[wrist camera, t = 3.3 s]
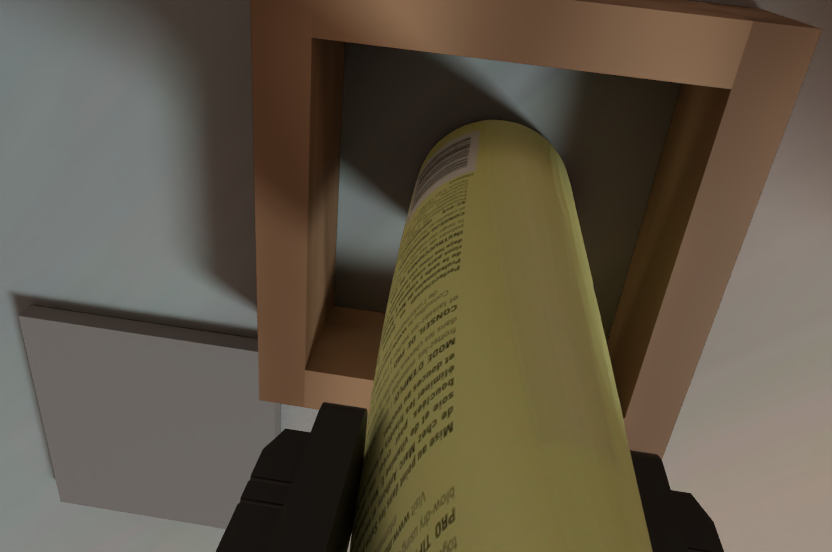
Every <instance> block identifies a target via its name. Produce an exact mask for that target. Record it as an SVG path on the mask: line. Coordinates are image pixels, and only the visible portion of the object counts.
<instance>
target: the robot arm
mask: <svg viewBox="0 0 832 552" xmlns="http://www.w3.org/2000/svg"><path fill="white" fill-rule="evenodd" d="M367 415H368V412H367V408H360V407H354V406H347V405H341V404H334V403H328V402H323V403H322V405H321V407H320V409H319V412H318V415H317V417H316V420H315V423H314V425H313V428H312V431H311V433H310V432H304V431H297V430H291V429H285V430H284V431H282V432H281V433H280V434H279V435H278V436H277V437H276V438H275V439H273V440H272V441H271V442H270V443H269V444H268V445H267V446H266V447H265V448H263V450H262V452H261V454H260V456H259V458H258V460H257V463H256V465H255V467H254V469H253V471H252V474H251V477H250V481H248V482H247V485H246V487H245V489H244V491H243V493H242V495H241V499H240V503H238V504H237V506H236V509H235V511H234V513H233V515H232V517H231V519H230V522H229V524H228V526H227V528H226V530H225V533H224V535H223V537H222V539H221V541H220V544H219V546H218V548H217V550H216V552H347V549H348V545H349V541H350V537H351V533H352V529H353V521H354V515H355V508H356V502H357V496H358V490H359V484H360V479H361V473H362V467H363V462H364V453H365V441H366V429H367ZM630 454H631V458H632V463H633V467H634V472H635V476H636V481H637V485H638V490H639V494H640V498H641V503H642V507H643V512H644V516H645V520H646V525H647V529H648V533H649V538H650V542H651V547H652V551H653V552H724V550H723V548H722V545H721V542H720V539H719V536H718V533H717V530H716V528H715V525H714V522H713V521H712V520H711V518H710V517H709V516H708V514H707V513H706V512H705V511H704V509H703V508H702V507H701V506H700V504H699V503H698V502H697V501H696V499H695V498H694V497H693V496H692V494H691V493H685V492H679V491H673V490H671V489H670V486H669V483H668V479H667V476H666V472H665V469H664V466H663V462H662V460H661V458H660V456H659V455H657V454H652V453H646V452H640V451H633V450H630Z"/></svg>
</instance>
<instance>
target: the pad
mask: <svg viewBox="0 0 832 552" xmlns="http://www.w3.org/2000/svg"><path fill="white" fill-rule="evenodd" d="M19 321H20V325H21V329H22V334H23V338H24V343H25V347H26V351H27V356H28V360H29V364H30V369H31V373H32V378H33V382H34V386H35V391H36V395H37V400H38V404H39V408H40V413H41V417H42V421H43V426H44V430H45V435H46V439H47V443H48V448H49V452H50V457H51V461H52V465H53V470H54V474H55V478H56V483H57V487H58V492H59V496H60V500H61V502H67V503H73V504H79V505H85V506H91V507H97V508H103V509H109V510H115V511H122V512H128V513H134V514H140V515H146V516H152V517H158V518H164V519H170V520H176V521H182V522H188V523H194V524H200V525H206V526H212V527H218V528H224V529H226V528H227V526H228V524H229V522H230V519H231V517H232V515H233V513H234V511H235V509H236V506H237V504H238V503H240V499H241V495H242V493H243V491H244V489H245V487H246V485H247V482H248V481H250V477H251V474H252V471H253V469H254V467H255V465H256V463H257V460H258V458H259V456H260V454H261V452H262V450H263V448H265V447H266V446H267V445H268V444H269V443H270V442H271V441H272V440H273V439H275V438H276V437H277V436H278V435H279V434H280V433H281V404H280V403H274V402H267V401H261V400H259V369H258V339H254V338H247V337H240V336H234V335H227V334H220V333H214V332H207V331H200V330H194V329H187V328H180V327H174V326H167V325H160V324H154V323H147V322H140V321H133V320H127V319H120V318H113V317H107V316H100V315H93V314H87V313H80V312H73V311H67V310H60V309H53V308H47V307H40V306H33V305H31V306H30V307H29V308H28V309H26V310H25V311H24V312H23V313H21V314H20V315H19Z"/></svg>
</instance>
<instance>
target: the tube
mask: <svg viewBox="0 0 832 552" xmlns="http://www.w3.org/2000/svg"><path fill="white" fill-rule="evenodd" d="M350 552H653V551H652V547H651V542H650V538H649V533H648V529H647V525H646V520H645V516H644V512H643V507H642V503H641V498H640V494H639V490H638V485H637V481H636V476H635V472H634V467H633V463H632V458H631V454H630V449H629V445H628V440H627V436H626V431H625V426H624V421H623V416H622V411H621V406H620V401H619V397H618V393H617V389H616V384H615V379H614V375H613V370H612V365H611V361H610V356H609V351H608V347H607V342H606V338H605V334H604V330H603V326H602V321H601V316H600V311H599V307H598V303H597V299H596V294H595V289H594V285H593V280H592V276H591V272H590V268H589V263H588V259H587V255H586V250H585V246H584V242H583V238H582V233H581V229H580V225H579V220H578V216H577V211H576V206H575V202H574V197H573V193H572V188H571V184H570V181H569V177H568V174H567V171H566V168H565V165H564V163H563V161H562V159H561V157H560V155H559V154H558V153H557V151H556V150H555V148H554V147H553V146H552V145H551V144H550V143H549V142H548V141H547V140H546V139H545V138H544V137H542V136H541V135H540V134H538V133H537V132H535V131H534V130H532V129H530V128H528V127H526V126H524V125H521V124H518V123H515V122H509V121H504V120H484V121H478V122H474V123H470V124H467V125H464V126H462V127H460V128H458V129H456V130H454V131H452V132H451V133H449V134H448V135H446V136H445V137H444V138H443V139H441V140H440V141H439V142H438V143H437V144H436V145H435V146H434V147H433V148H432V150H431V151H430V152H429V154H428V155H427V157H426V159H425V161H424V163H423V164H422V166H421V169H420V172H419V175H418V178H417V181H416V184H415V188H414V192H413V195H412V199H411V203H410V207H409V211H408V215H407V219H406V223H405V227H404V231H403V235H402V239H401V243H400V248H399V252H398V257H397V262H396V266H395V271H394V275H393V280H392V285H391V290H390V294H389V299H388V304H387V309H386V314H385V319H384V325H383V330H382V336H381V341H380V347H379V352H378V358H377V364H376V370H375V376H374V382H373V388H372V394H371V401H370V408H369V415H368V421H367V429H366V441H365V453H364V462H363V467H362V473H361V479H360V484H359V490H358V496H357V502H356V508H355V515H354V521H353V529H352V536H351V545H350Z"/></svg>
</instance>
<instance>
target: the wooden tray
mask: <svg viewBox="0 0 832 552" xmlns="http://www.w3.org/2000/svg"><path fill="white" fill-rule="evenodd" d="M250 5H251V50H252V96H253V141H254V187H255V232H256V278H257V323H258V369H259V400H261V401H267V402H274V403H280V404H287V405H293V406H299V407H306V408H312V409H320V407H321V405H322V403H323V402H328V403H334V404H341V405H347V406H354V407H360V408H367V412H368V415H369V408H370V401H371V394H372V388H373V382H374V376H375V370H376V364H377V358H378V352H379V347H380V341H381V336H382V330H383V325H384V319H385V314H386V313H381V312H374V311H367V310H360V309H353V308H346V307H340V306H334V284H335V261H336V238H337V215H338V192H339V169H340V146H341V123H342V100H343V77H344V54H345V42H351V43H359V44H367V45H375V46H383V47H391V48H399V49H408V50H416V51H424V52H432V53H440V54H448V55H456V56H465V57H473V58H481V59H489V60H497V61H505V62H513V63H522V64H530V65H538V66H546V67H554V68H562V69H570V70H579V71H587V72H595V73H603V74H611V75H619V76H627V77H636V78H644V79H652V80H660V81H668V82H676V83H682V85H681V88H680V92H679V95H678V99H677V102H676V106H675V109H674V113H673V116H672V120H671V123H670V127H669V130H668V134H667V137H666V141H665V144H664V148H663V151H662V155H661V158H660V161H659V165H658V168H657V172H656V175H655V179H654V182H653V186H652V189H651V193H650V196H649V200H648V203H647V207H646V210H645V214H644V217H643V221H642V224H641V228H640V231H639V235H638V238H637V242H636V245H635V249H634V252H633V256H632V259H631V263H630V266H629V270H628V273H627V276H626V280H625V283H624V287H623V290H622V294H621V297H620V301H619V304H618V308H617V311H616V315H615V318H614V322H613V325H612V329H611V332H610V336H609V339H608V343H607V347H608V351H609V356H610V361H611V365H612V370H613V375H614V379H615V384H616V389H617V393H618V397H619V401H620V406H621V411H622V416H623V421H624V426H625V431H626V436H627V440H628V445H629V449H630V450H633V451H640V452H646V453H652V454H657V455H659V456H660V458H661V460H662V458H663V455H664V452H665V450H666V447H667V444H668V442H669V439H670V436H671V434H672V431H673V428H674V426H675V423H676V420H677V418H678V415H679V412H680V409H681V407H682V404H683V401H684V399H685V396H686V393H687V391H688V388H689V385H690V383H691V380H692V377H693V375H694V372H695V369H696V367H697V364H698V361H699V359H700V356H701V353H702V351H703V348H704V345H705V343H706V340H707V337H708V334H709V332H710V329H711V326H712V324H713V321H714V318H715V316H716V313H717V310H718V308H719V305H720V302H721V300H722V297H723V294H724V292H725V289H726V286H727V284H728V281H729V278H730V276H731V273H732V270H733V268H734V265H735V262H736V260H737V257H738V254H739V251H740V249H741V246H742V243H743V241H744V238H745V235H746V233H747V230H748V227H749V225H750V222H751V219H752V217H753V214H754V211H755V209H756V206H757V203H758V201H759V198H760V195H761V193H762V190H763V187H764V185H765V182H766V179H767V177H768V174H769V171H770V168H771V166H772V163H773V160H774V158H775V155H776V152H777V150H778V147H779V144H780V142H781V139H782V136H783V134H784V131H785V128H786V126H787V123H788V120H789V118H790V115H791V112H792V110H793V107H794V104H795V102H796V99H797V96H798V94H799V91H800V88H801V85H802V83H803V80H804V77H805V75H806V72H807V69H808V67H809V64H810V61H811V59H812V56H813V53H814V51H815V48H816V45H817V43H818V40H819V37H820V35H821V32H822V29H820V28H817V27H814V26H811V25H808V24H805V23H802V22H799V21H796V20H793V19H790V18H787V17H784V16H780V15H777V14H774V13H771V12H768V11H765V10H762V9H757V8H748V7H740V6H731V5H722V4H714V3H705V2H696V1H688V0H250ZM368 415H367V417H368Z"/></svg>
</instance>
